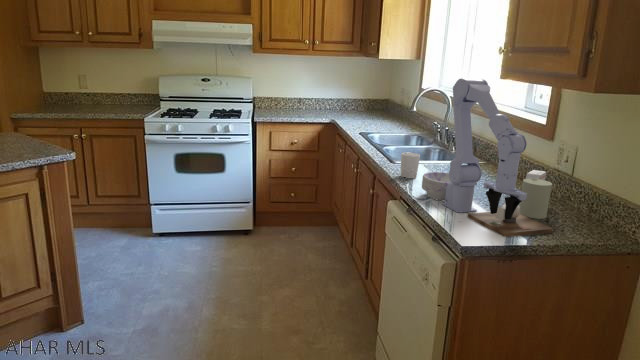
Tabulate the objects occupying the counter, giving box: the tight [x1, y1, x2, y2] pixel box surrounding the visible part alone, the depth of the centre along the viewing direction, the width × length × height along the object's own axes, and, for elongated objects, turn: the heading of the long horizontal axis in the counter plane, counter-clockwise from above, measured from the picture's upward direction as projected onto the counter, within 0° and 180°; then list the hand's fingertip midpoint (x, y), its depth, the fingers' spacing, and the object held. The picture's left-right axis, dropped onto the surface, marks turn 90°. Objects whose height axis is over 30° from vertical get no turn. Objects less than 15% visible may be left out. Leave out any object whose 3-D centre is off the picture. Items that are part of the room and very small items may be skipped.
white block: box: [496, 203, 520, 220], centre depth 148 cm, size 10×5×4 cm, turn 133°
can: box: [518, 178, 553, 220], centre depth 161 cm, size 9×9×12 cm
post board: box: [467, 211, 554, 238], centre depth 150 cm, size 18×18×3 cm
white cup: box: [400, 151, 421, 179], centre depth 203 cm, size 8×8×10 cm
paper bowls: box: [421, 171, 451, 202], centre depth 176 cm, size 15×15×8 cm
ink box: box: [525, 169, 547, 181], centre depth 174 cm, size 9×5×12 cm, turn 141°
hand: (500, 216), depth 148 cm, fingers open, 5 cm apart
